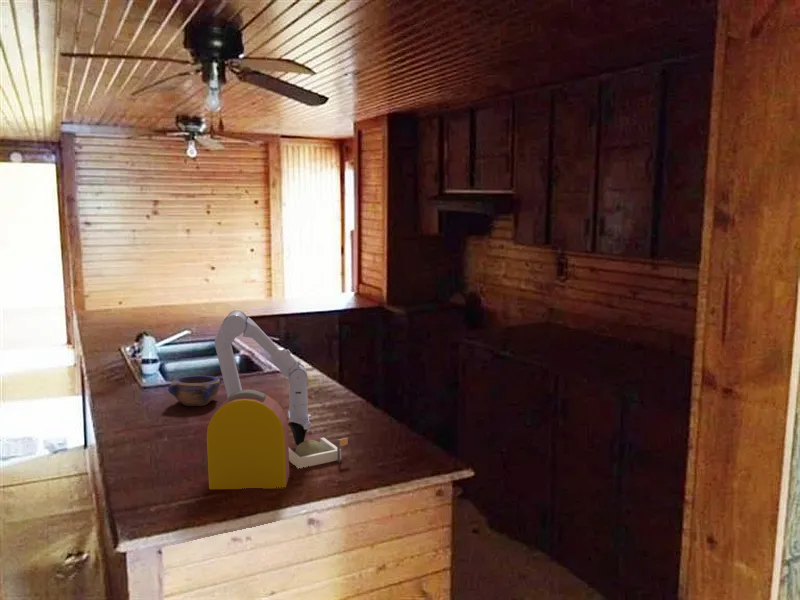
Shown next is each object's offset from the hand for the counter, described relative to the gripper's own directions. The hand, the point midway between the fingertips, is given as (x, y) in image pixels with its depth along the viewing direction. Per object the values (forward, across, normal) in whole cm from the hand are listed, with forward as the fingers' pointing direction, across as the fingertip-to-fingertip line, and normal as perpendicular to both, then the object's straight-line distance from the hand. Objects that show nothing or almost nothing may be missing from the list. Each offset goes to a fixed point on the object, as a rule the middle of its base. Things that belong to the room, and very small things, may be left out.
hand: (299, 444), depth 215 cm
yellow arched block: (+1, -18, +22) cm, 28 cm away
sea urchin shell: (+1, -9, 0) cm, 9 cm away
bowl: (+1, +64, +17) cm, 67 cm away
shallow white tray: (+1, -10, -1) cm, 11 cm away
